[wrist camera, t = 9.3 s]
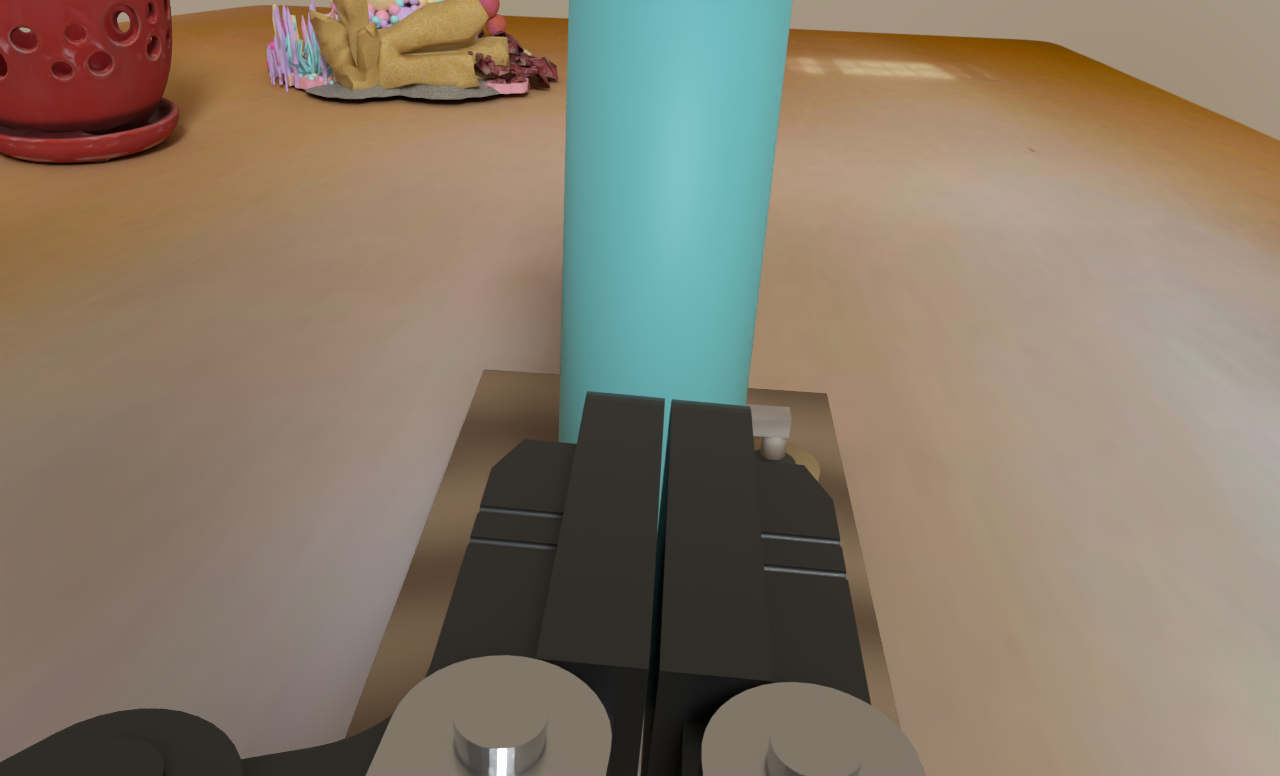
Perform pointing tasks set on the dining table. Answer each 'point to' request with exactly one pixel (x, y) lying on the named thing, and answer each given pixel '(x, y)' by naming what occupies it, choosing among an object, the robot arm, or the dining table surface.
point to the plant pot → (84, 79)
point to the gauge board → (531, 411)
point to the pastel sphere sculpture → (403, 51)
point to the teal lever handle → (666, 197)
